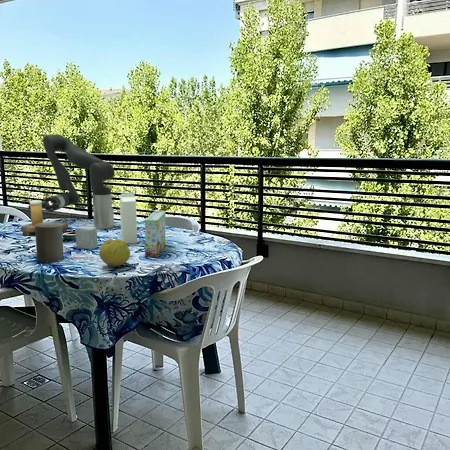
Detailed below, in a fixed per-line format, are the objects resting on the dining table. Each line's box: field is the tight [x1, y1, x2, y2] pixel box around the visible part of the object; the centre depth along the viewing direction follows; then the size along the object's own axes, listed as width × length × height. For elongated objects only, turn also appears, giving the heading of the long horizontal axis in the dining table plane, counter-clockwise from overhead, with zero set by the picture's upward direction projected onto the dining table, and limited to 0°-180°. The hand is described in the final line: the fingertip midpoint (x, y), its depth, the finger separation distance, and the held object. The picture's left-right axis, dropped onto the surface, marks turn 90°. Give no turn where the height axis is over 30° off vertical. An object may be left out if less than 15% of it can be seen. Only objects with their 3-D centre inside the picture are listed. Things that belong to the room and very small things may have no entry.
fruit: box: [98, 238, 131, 267], centre depth 166 cm, size 11×12×10 cm
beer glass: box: [29, 199, 44, 226], centre depth 219 cm, size 5×5×12 cm
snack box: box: [144, 210, 166, 258], centre depth 188 cm, size 21×6×15 cm, turn 179°
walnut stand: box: [20, 221, 69, 236], centre depth 219 cm, size 17×13×4 cm
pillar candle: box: [34, 221, 64, 263], centre depth 174 cm, size 10×10×15 cm
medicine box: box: [74, 226, 99, 250], centre depth 192 cm, size 8×4×9 cm, turn 71°
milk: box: [119, 192, 138, 245], centre depth 201 cm, size 6×6×22 cm
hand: (37, 208), depth 219 cm, fingers open, 8 cm apart
